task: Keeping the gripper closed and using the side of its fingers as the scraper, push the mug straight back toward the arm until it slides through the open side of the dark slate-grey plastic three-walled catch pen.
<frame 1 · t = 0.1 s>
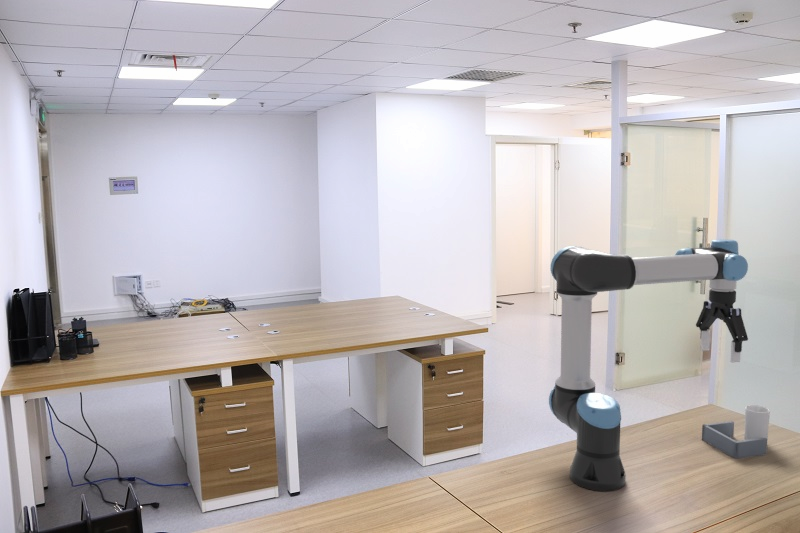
hand: (719, 356, 208), 28 cm above the table, fingers open, 13 cm apart
catch pen: (733, 446, 207), on the table
mug: (756, 444, 209), on the table
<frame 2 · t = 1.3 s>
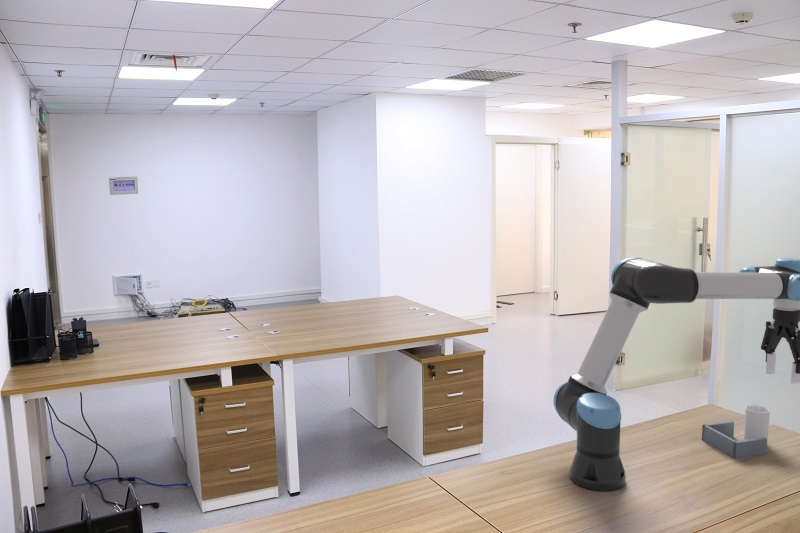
hand: (782, 378, 208), 21 cm above the table, fingers open, 9 cm apart
nothing on the table moved.
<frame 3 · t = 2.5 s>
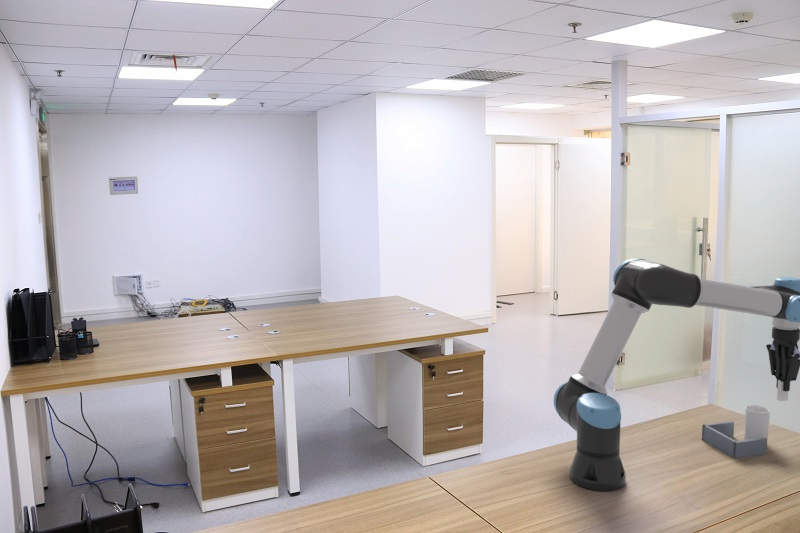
hand: (782, 399, 209), 13 cm above the table, fingers closed
nothing on the table moved.
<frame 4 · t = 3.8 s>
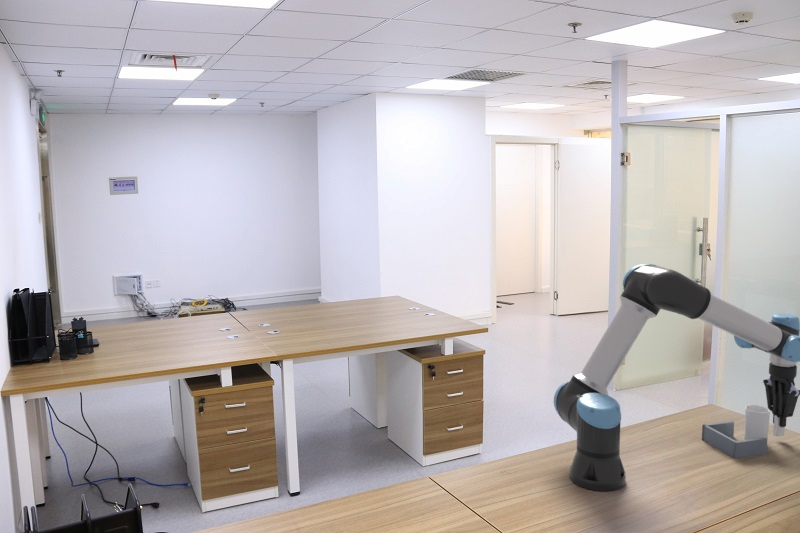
hand: (778, 435, 210), 2 cm above the table, fingers closed
nothing on the table moved.
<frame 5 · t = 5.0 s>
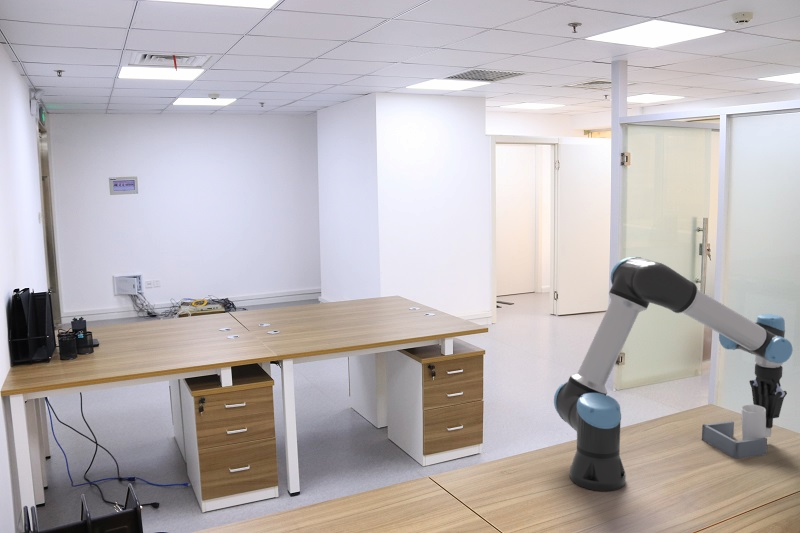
hand: (765, 436, 209), 2 cm above the table, fingers closed
mug: (754, 443, 209), on the table, touching hand
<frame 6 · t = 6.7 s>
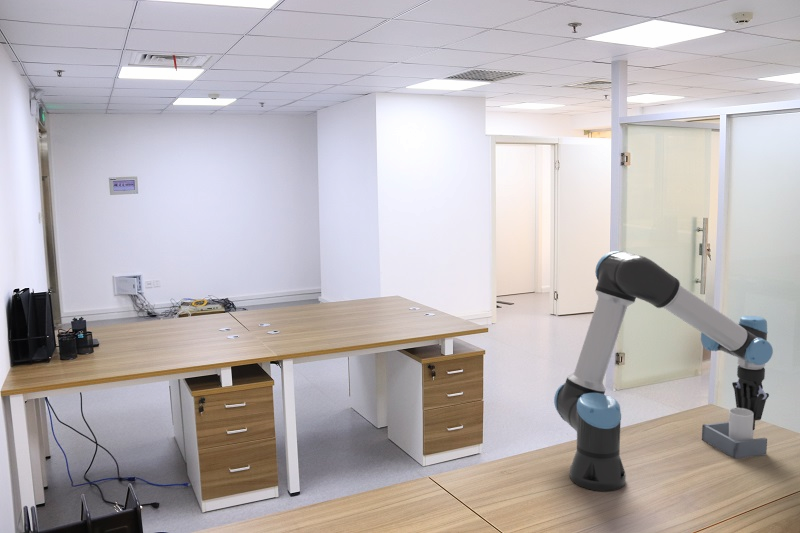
hand: (747, 438, 208), 2 cm above the table, fingers closed
mug: (737, 446, 207), on the table, touching gripper
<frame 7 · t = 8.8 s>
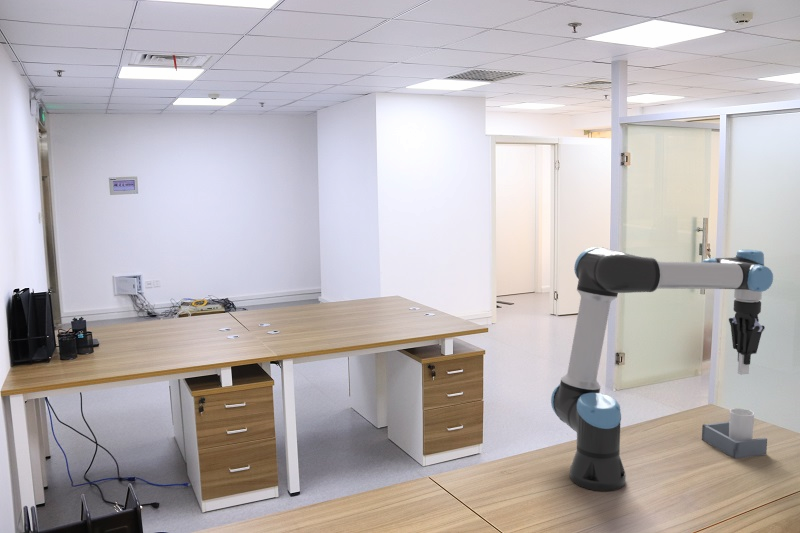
hand: (743, 373, 208), 22 cm above the table, fingers closed
mug: (737, 447, 207), on the table
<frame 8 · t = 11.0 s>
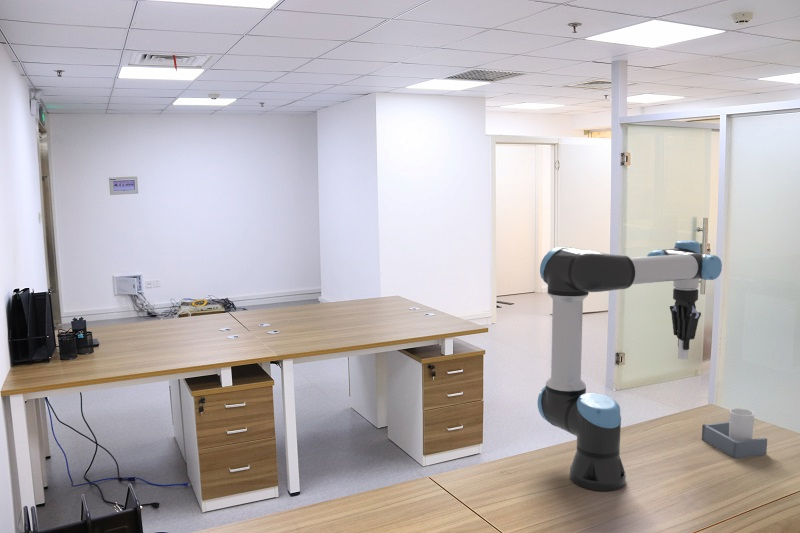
hand: (683, 358, 218), 24 cm above the table, fingers closed
nothing on the table moved.
at the end: mug 1.4 cm from the catch pen (horizontally); mug tilted 0°; mug on the table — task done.
